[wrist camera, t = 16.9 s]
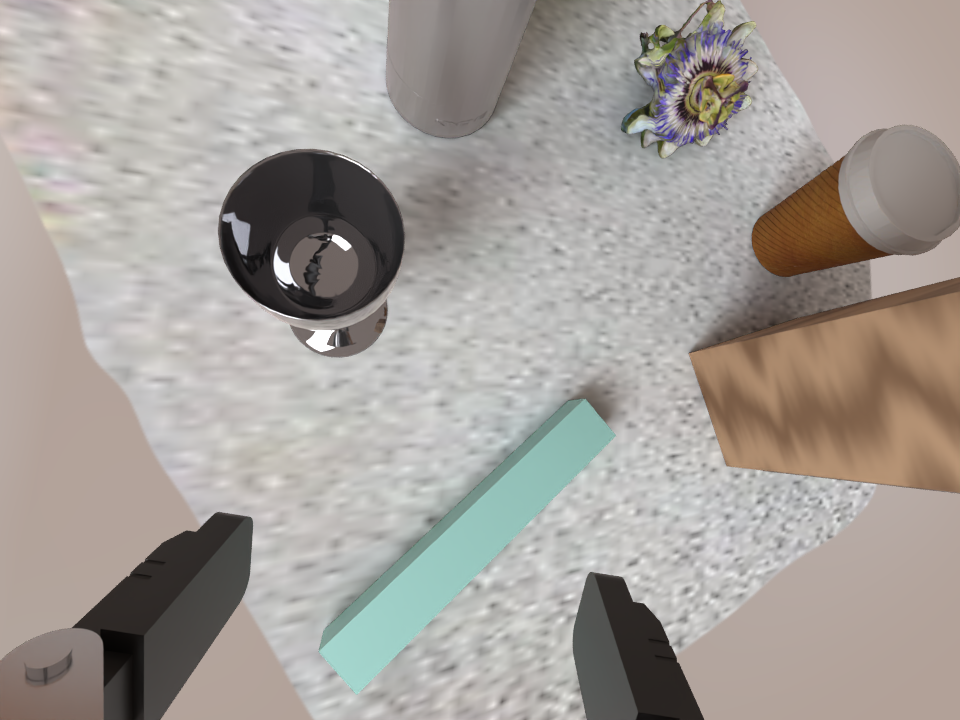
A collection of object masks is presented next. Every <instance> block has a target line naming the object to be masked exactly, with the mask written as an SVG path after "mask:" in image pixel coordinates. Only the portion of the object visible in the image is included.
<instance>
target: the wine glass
mask: <svg viewBox="0 0 960 720" xmlns="http://www.w3.org/2000/svg"><path fill="white" fill-rule="evenodd" d="M218 236H219V245H220V249H221V253H222V256H223V259H224V262H225V264H226V266H227V268H228V270H229V271H230V273H231V275H232V277H233V278H234V280H235V281H236V282H237V283H238V285H239V286H240V287H241V289H242V290H243V291H244V292H245V293H246V294H247V295H248V296H249V297H250V298H251V299H252V300H253V301H254V302H255V303H256V304H257V305H259V306H260V307H261V308H262V309H263V310H265V311H266V312H267V313H269V314H270V315H272V316H274V317H275V318H277V319H279V320H280V321H283V322H285V323H287V324H290V327H291V329H292V331H293V332H294V334H295V336H296V337H297V338H298V340H299V341H300V342H301V343H302V344H303V345H305V346H306V347H307V348H309V349H310V350H312V351H313V352H316V353H318V354H321V355H324V356H328V357H348V356H352V355H355V354H358V353H360V352H362V351H364V350H366V349H367V348H368V347H370V346H371V345H372V344H373V343H374V342H375V341H376V340H377V339H378V337H379V336H380V334H381V333H382V331H383V328H384V326H385V323H386V318H387V304H386V299H387V298H388V296H389V295H390V293H391V292H392V290H393V288H394V285H395V283H396V281H397V279H398V276H399V273H400V269H401V265H402V260H403V255H404V244H405V232H404V225H403V219H402V216H401V213H400V210H399V207H398V205H397V203H396V201H395V199H394V197H393V195H392V194H391V192H390V191H389V189H388V188H387V187H386V186H385V184H384V183H383V182H382V181H381V180H380V179H379V178H378V177H377V176H376V175H375V174H374V173H373V172H372V171H371V170H369V169H368V168H366V167H365V166H363V165H362V164H360V163H359V162H357V161H355V160H352V159H350V158H348V157H346V156H344V155H341V154H337V153H334V152H330V151H325V150H317V149H296V150H291V151H286V152H281V153H278V154H275V155H272V156H270V157H267V158H265V159H263V160H262V161H260V162H258V163H256V164H255V165H253V166H252V167H250V168H249V169H248V170H247V171H246V172H245V173H243V174H242V175H241V176H240V177H239V178H238V180H237V181H236V182H235V183H234V185H233V186H232V187H231V189H230V191H229V192H228V194H227V196H226V198H225V200H224V202H223V206H222V209H221V212H220V216H219V226H218Z"/></svg>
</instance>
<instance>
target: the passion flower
mask: <svg viewBox="0 0 960 720" xmlns="http://www.w3.org/2000/svg"><path fill="white" fill-rule="evenodd" d="M704 4H707V8H706V10H707V12H708V14H707V15H706V16H705V17H704V19H703V21H702V23H701V24H700V26H699V27H698V28H697V30H695V31H694V32H693V33H690V34H689V35H688V36H687V37H686V38H682V36H681V32H682V31H683V29H684V28H685V27H686V25H687V24H688V23H689V22H690V21H691V19H692V17H693V16H694V15H695V14H696V13H697V12H698V11H699V10H700V8H701V7H702V6H703V5H704ZM724 12H725V7H724V5H723V4H722V3H721V0H720V1H717V2H716V3H713V0H708V1H706V2H704V3H702V4H700V6H699V7H698V8H697V9H696V11H695V12H694V13H693V14H692V15H691V16H690V17H689V19H688V20H687V21H686V23H684V24H683V27H682V28H681V29H680V30H679V31H676V32H673V31H672V30H671V29H670V28H669V27H667V26H665V25H659V26H658V27H656V29H655V32H654V34H652V35H651V36H649V37H648V33H647V32H646V34H645V33H642V32H641V34H640V41H641V46H642V53H641V56H640V57H639V58H637V59H636V60H634V64H635V68H636V70H637V72H638V73H639V74H640V75H641V76H642V77H643V79H644V80H645V82H646V83H647V84H649V85H650V86H651V87H652V88H653V90H654V96H653V99H652V101H651V102H650V103H649V104H647V105H646V106H644V107H642V108H640V109H635V110H633V111H632V112H630V113H628V114H627V115H626V116H625V117H624V119H623V121H622V125H621V130H622V131H623V132H625V133H627V134H633V133H637V132H641V131H642V133H641V147H642V148H645V147H646V146H649V145H650V144H651V143H653V142H657V144H658V153H659V156H660V157H661V158H666V157H667V156H670V155H671V154H672V153H673V152H674V151H675V150H676V149H677V148H678V147H680V146H682V145H685V144H686V143H694V139H695V142H696V144H697V145H700V146H706V145H707V144H708V142H709V141H710V139H711V138H712V136H713V134H716V133H717V134H718V135H720V134H719V132H718V130H719V129H721V128H722V127H724V128H725V129H727V128H726V127H725V125H728V124H727V123H726V122H727V120H728V119H729V118H731V116H732V115H733V114H736V113H738V111H741V110H743V109H746V108H747V107H748V106H750V105H751V102H752V100H751V98H750V97H749V96H748V95H746V94H745V93H744V92H745V91H746V90H747V87H748V83H750V82H751V81H749V82H748V81H747V80H749V79H750V78H751V77H752V76H753V75H754V74H755V73H757V71H758V67H757V65H756V63H754V62H753V61H751V60H749V59H744V58H742V57H743V56H744V55H745V54H746V53H747V52H748V50H747V49H745V50H744V51H742V50H740V48H741V47H742V46H743V43H744V39H745V38H746V37H747V36H748V35H749V34H750V33H751V32H752V31H753V29H754V28H755V27H756V23H755V22H754V21H751V22H747V23H743V24H740V25H738V26H736V27H735V28H734V29H733V30H732V32H731V30H730V29H729V30H728V31H726V32H725V30H723V29H722V27H723V26H724V21H723V15H724ZM691 34H692V35H691ZM659 41H663V42H666V44H664V45H663V46H662V47H660V44H659ZM649 43H653V44H654V48H653V49H649V48H648V44H649ZM741 51H742V52H741ZM750 59H751V58H750ZM727 130H728V129H727Z"/></svg>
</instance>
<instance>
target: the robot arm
mask: <svg viewBox="0 0 960 720" xmlns="http://www.w3.org/2000/svg"><path fill="white" fill-rule="evenodd" d="M536 1H537V0H389V14H388V37H387V59H386V85H387V90H388V93H389V97H390V99H391V101H392V103H393V105H394V107H395V109H396V110H397V111H398V112H399V113H400V115H401V116H402V117H403V118H404V119H405V120H406V121H407V122H409V123H410V124H411V125H412V126H413V127H415V128H417V129H419V130H421V131H422V132H424V133H427V134H430V135H433V136H437V137H444V138H454V137H462V136H465V135H469V134H471V133H473V132H475V131H476V130H478V129H480V128H481V127H482V126H483V125H484V124H485V123H486V122H487V121H488V120H489V118H490V117H491V115H492V114H493V111H494V109H495V106H496V104H497V101H498V98H499V96H500V93H501V91H502V88H503V86H504V83H505V81H506V78H507V76H508V73H509V71H510V68H511V66H512V63H513V60H514V58H515V55H516V53H517V50H518V47H519V45H520V42H521V40H522V37H523V34H524V32H525V29H526V27H527V24H528V21H529V19H530V16H531V14H532V11H533V8H534V6H535V3H536ZM252 534H253V521H252V518H251V517H247V516H241V515H234V514H228V513H222V512H217V513H215V514H214V515H213V516H212V517H211V518H210V519H209V520H208V521H207V522H206V523H205V524H204V525H203V526H202V527H201V528H200V529H199V530H198V531H197V532H192V531H185V532H183V533H181V534H179V535H177V536H175V537H173V538H171V539H169V540H167V541H165V542H163V543H162V544H161V545H160V546H159V547H158V548H157V549H156V550H154V551H153V552H152V553H151V554H150V555H149V556H148V557H147V558H146V559H145V562H144V563H143V562H142V563H141V564H139V565H138V566H137V567H136V568H135V569H134V570H133V571H132V572H131V574H130V576H129V577H128V576H127V577H126V578H125V579H124V580H123V581H121V582H120V583H119V584H118V585H117V586H116V587H115V588H114V589H113V590H112V591H111V592H110V593H109V594H108V595H107V596H105V597H104V598H103V599H102V600H101V601H100V602H99V603H98V604H97V605H96V606H95V607H94V608H93V609H92V610H90V611H89V612H88V613H87V614H86V615H85V616H84V617H83V618H82V619H81V620H80V621H79V622H78V623H77V624H75V625H74V626H73V627H72V628H69V629H61V630H57V631H52V632H49V633H46V634H43V635H40V636H38V637H35V638H33V639H31V640H29V641H27V642H25V643H23V644H21V645H20V646H18V647H16V648H15V649H14V650H12V651H11V652H9V653H8V654H7V655H6V656H5V657H4V658H3V659H2V660H0V720H160V719H161V718H162V716H163V715H164V713H165V712H166V711H167V709H168V707H169V706H170V704H171V703H172V701H173V700H174V699H175V697H176V696H177V694H178V693H179V691H180V690H181V688H182V687H183V686H184V684H185V683H186V681H187V679H188V678H189V677H190V675H191V674H192V672H193V671H194V669H195V668H196V666H197V665H198V663H199V662H200V660H201V659H202V658H203V656H204V655H205V653H206V651H207V650H208V649H209V647H210V646H211V644H212V643H213V641H214V640H215V638H216V637H217V636H218V634H219V633H220V631H221V629H222V628H223V627H224V625H225V624H226V622H227V621H228V619H229V618H230V616H231V615H232V613H233V612H234V610H235V609H236V607H237V606H238V605H239V603H240V601H241V600H242V598H243V595H244V593H245V591H246V588H247V585H248V581H249V576H250V565H251V549H252ZM573 654H574V660H575V665H576V669H577V674H578V679H579V684H580V689H581V694H582V699H583V703H584V708H585V713H586V718H587V720H704V718H703V716H702V714H701V711H700V709H699V707H698V705H697V702H696V700H695V698H694V696H693V693H692V691H691V689H690V687H689V684H688V682H687V680H686V678H685V676H684V674H683V671H682V669H681V667H680V664H679V663H677V658H676V656H675V653H674V651H673V649H672V647H671V646H669V640H668V638H667V636H666V633H665V631H664V629H663V627H662V625H661V622H660V621H659V620H658V619H657V618H656V617H655V615H654V614H653V613H652V612H651V611H650V610H649V609H648V608H647V606H646V605H645V604H643V603H637V602H633V600H632V598H631V595H630V593H629V590H628V588H627V585H626V583H625V581H624V579H623V578H622V577H619V576H613V575H606V574H600V573H594V572H590V573H589V574H588V576H587V579H586V582H585V586H584V590H583V594H582V598H581V602H580V605H579V609H578V613H577V617H576V621H575V625H574V631H573Z"/></svg>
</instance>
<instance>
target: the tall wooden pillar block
mask: <svg viewBox="0 0 960 720" xmlns="http://www.w3.org/2000/svg"><path fill="white" fill-rule="evenodd" d="M689 356H690V359H691V361H692V364H693V367H694V370H695V373H696V376H697V379H698V382H699V385H700V388H701V391H702V394H703V397H704V400H705V403H706V406H707V409H708V412H709V415H710V418H711V421H712V424H713V427H714V430H715V433H716V436H717V439H718V442H719V444H720V447H721V450H722V453H723V456H724V459H725V462H726V465H727V466H730V467H739V468H748V469H756V470H763V471H769V472H778V473H787V474H795V475H804V476H812V477H821V478H830V479H838V480H847V481H856V482H864V483H873V484H881V485H890V486H899V487H908V488H916V489H925V490H933V491H942V492H950V493H959V494H960V277H959V278H954V279H951V280H947V281H943V282H939V283H935V284H931V285H927V286H923V287H919V288H915V289H911V290H907V291H903V292H899V293H895V294H891V295H887V296H884V297H880V298H876V299H871V300H867V301H864V302H860V303H856V304H852V305H848V306H844V307H840V308H836V309H832V310H828V311H824V312H820V313H816V314H812V315H808V316H804V317H800V318H797V319H793V320H790V321H787V322H784V323H781V324H778V325H775V326H772V327H769V328H766V329H763V330H759V331H756V332H753V333H750V334H747V335H744V336H741V337H738V338H735V339H732V340H729V341H725V342H722V343H719V344H716V345H713V346H710V347H707V348H704V349H701V350H698V351H695V352H691V353H689Z"/></svg>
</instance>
